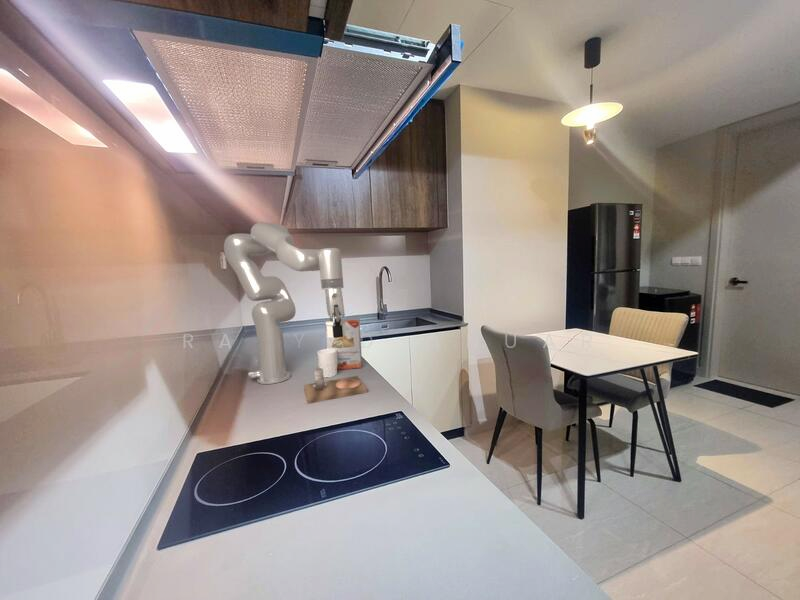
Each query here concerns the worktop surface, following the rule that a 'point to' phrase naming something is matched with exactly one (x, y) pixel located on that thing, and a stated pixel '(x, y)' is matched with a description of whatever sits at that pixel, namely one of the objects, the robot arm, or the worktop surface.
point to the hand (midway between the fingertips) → (336, 334)
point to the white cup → (328, 362)
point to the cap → (330, 329)
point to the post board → (332, 388)
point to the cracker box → (348, 346)
